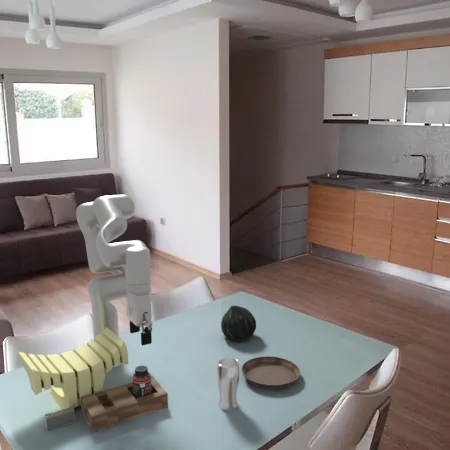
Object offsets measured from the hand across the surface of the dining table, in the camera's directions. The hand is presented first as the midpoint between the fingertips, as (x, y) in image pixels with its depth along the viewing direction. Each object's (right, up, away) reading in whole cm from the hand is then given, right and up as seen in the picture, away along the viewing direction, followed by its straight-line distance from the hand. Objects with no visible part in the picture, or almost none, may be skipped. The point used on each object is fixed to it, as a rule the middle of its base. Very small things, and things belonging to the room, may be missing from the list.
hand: (140, 338), depth 152 cm
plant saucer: (+43, -19, +20) cm, 51 cm away
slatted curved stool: (-22, -22, +8) cm, 32 cm away
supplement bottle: (0, -21, +4) cm, 22 cm away
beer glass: (+28, -22, +3) cm, 36 cm away
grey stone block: (-23, -25, -7) cm, 34 cm away
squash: (+32, -12, +52) cm, 62 cm away
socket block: (-5, -23, +1) cm, 23 cm away
